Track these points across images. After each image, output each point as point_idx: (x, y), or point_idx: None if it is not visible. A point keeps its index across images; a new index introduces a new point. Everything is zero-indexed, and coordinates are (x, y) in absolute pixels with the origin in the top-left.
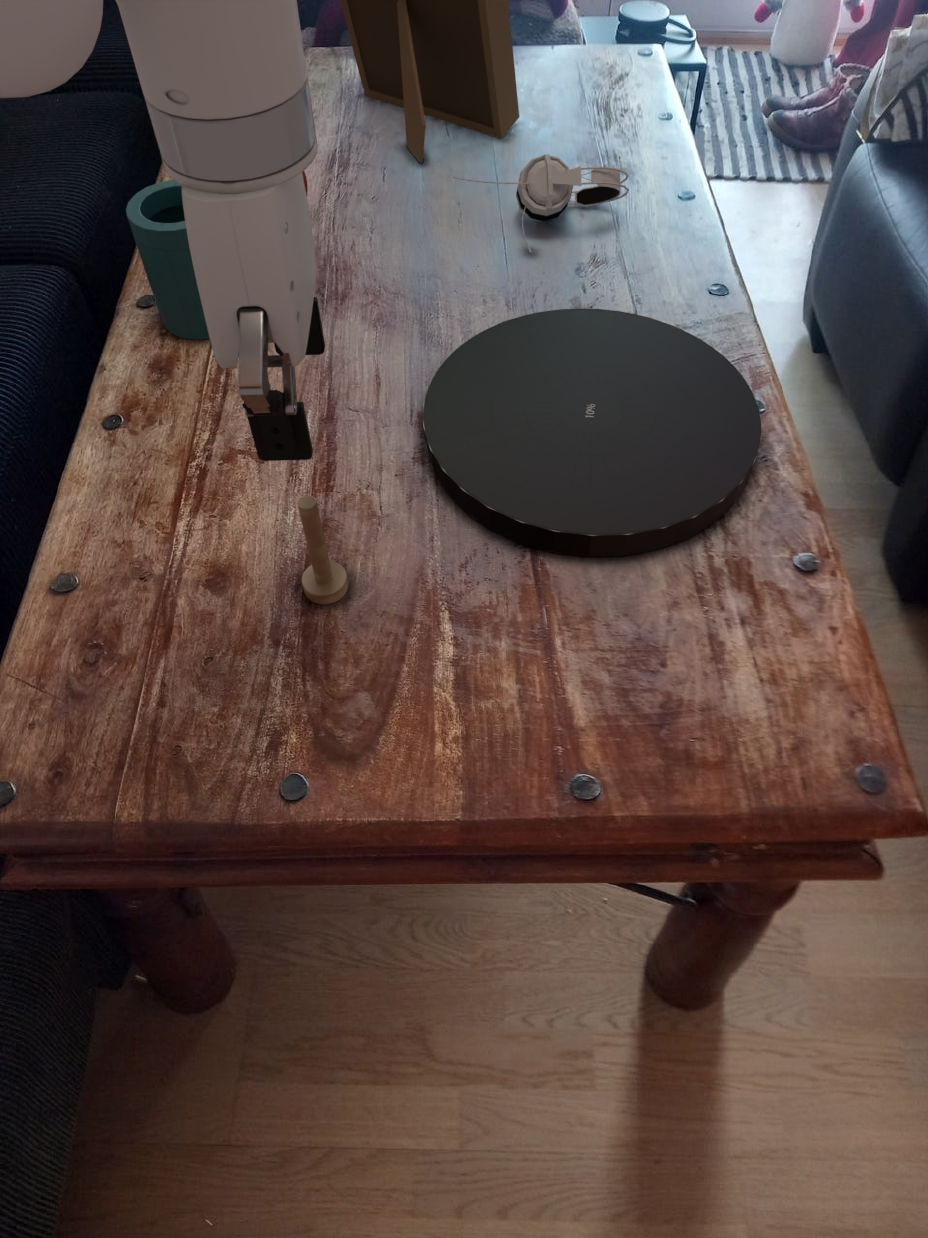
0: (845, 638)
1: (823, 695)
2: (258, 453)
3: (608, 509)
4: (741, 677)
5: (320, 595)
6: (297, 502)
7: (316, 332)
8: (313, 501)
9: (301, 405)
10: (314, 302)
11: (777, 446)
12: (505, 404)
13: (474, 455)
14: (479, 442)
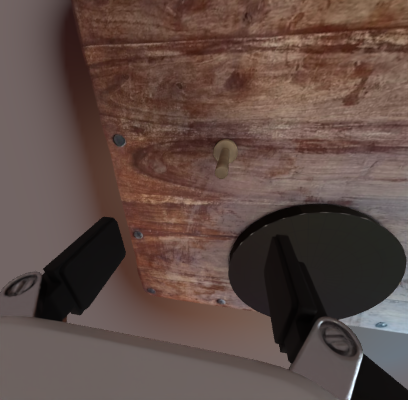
0: (193, 300)
1: (174, 290)
2: (99, 220)
3: (242, 271)
4: (179, 277)
5: (213, 151)
6: (221, 166)
7: (268, 297)
8: (221, 177)
9: (73, 313)
10: (280, 348)
11: None
12: (326, 249)
13: (290, 232)
14: (299, 235)
